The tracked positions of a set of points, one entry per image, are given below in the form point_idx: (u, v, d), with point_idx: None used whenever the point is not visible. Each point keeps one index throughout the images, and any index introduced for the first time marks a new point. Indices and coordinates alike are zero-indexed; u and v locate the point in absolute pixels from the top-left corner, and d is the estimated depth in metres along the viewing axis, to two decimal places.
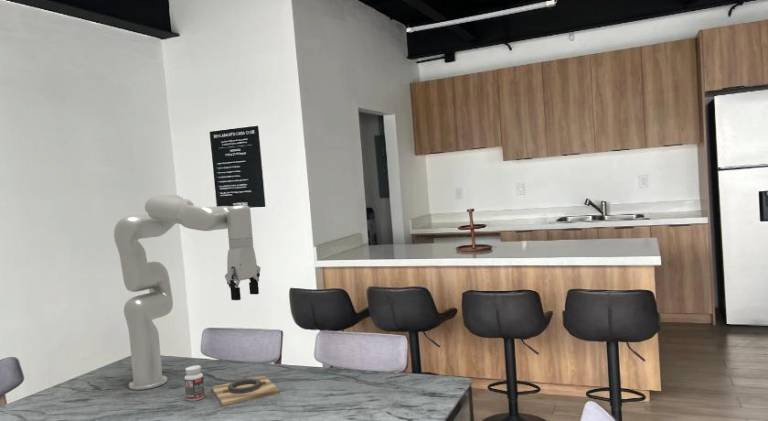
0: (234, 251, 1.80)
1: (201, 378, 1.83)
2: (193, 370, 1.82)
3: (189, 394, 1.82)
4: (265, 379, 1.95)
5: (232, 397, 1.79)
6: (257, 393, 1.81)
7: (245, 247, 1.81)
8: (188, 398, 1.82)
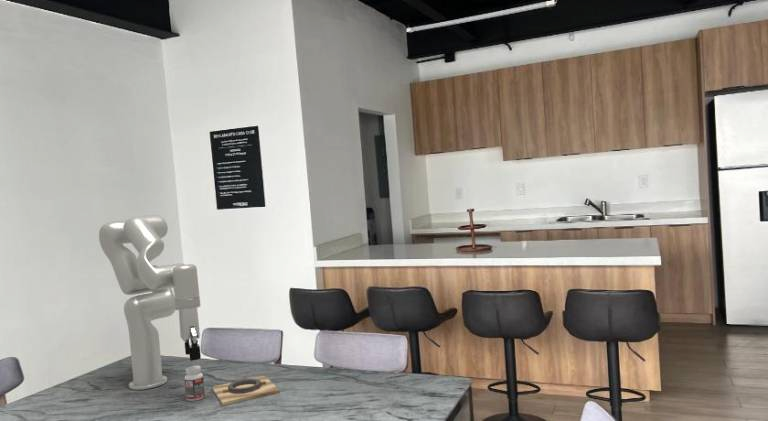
0: (192, 311, 1.80)
1: (201, 378, 1.83)
2: (193, 370, 1.82)
3: (189, 394, 1.82)
4: (265, 379, 1.95)
5: (232, 397, 1.79)
6: (257, 393, 1.81)
7: (199, 305, 1.83)
8: (188, 398, 1.82)
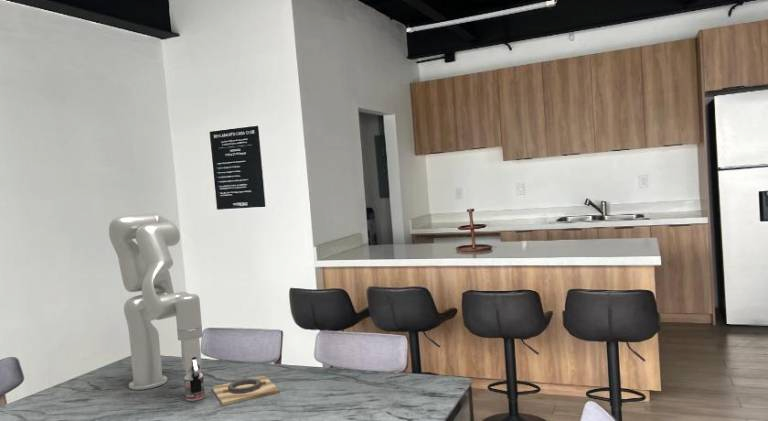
0: (194, 341, 1.80)
1: (201, 378, 1.83)
2: None
3: (189, 394, 1.82)
4: (265, 379, 1.95)
5: (232, 397, 1.79)
6: (257, 393, 1.81)
7: (201, 336, 1.83)
8: (188, 398, 1.82)
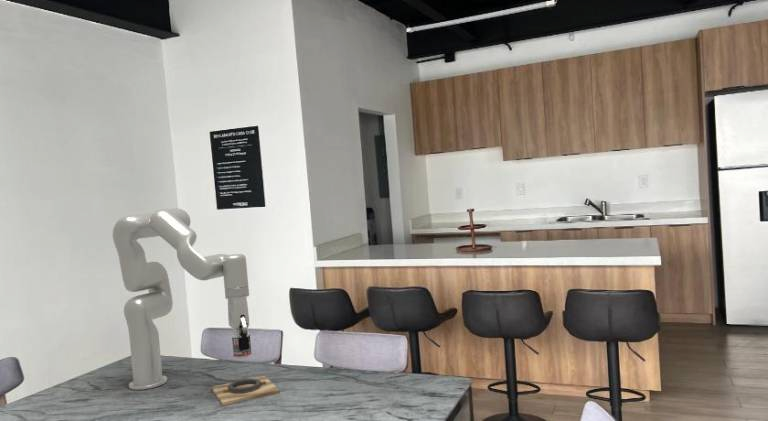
0: (242, 300, 1.83)
1: (248, 336, 1.86)
2: None
3: (237, 351, 1.84)
4: (265, 379, 1.95)
5: (232, 397, 1.79)
6: (257, 393, 1.81)
7: (248, 294, 1.86)
8: (236, 355, 1.85)
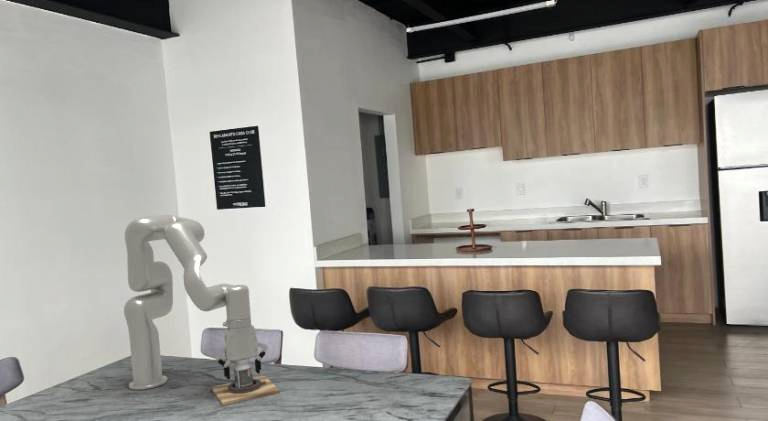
0: None
1: None
2: None
3: (251, 381, 1.86)
4: (265, 379, 1.95)
5: (232, 397, 1.79)
6: (257, 393, 1.81)
7: None
8: None
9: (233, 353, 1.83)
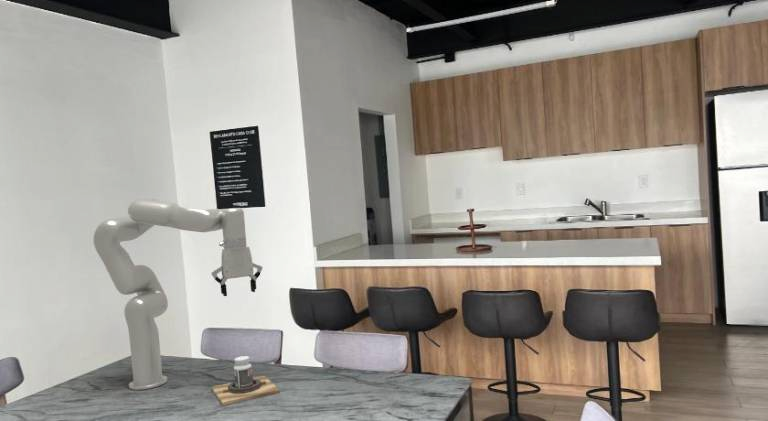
0: None
1: None
2: None
3: (251, 381, 1.86)
4: (265, 379, 1.95)
5: (232, 397, 1.79)
6: (257, 393, 1.81)
7: None
8: None
9: (229, 271, 1.94)
